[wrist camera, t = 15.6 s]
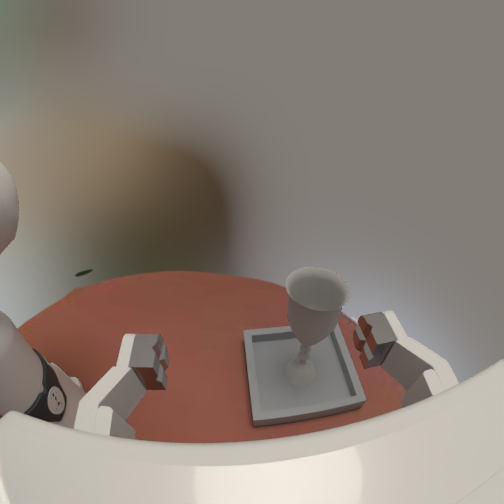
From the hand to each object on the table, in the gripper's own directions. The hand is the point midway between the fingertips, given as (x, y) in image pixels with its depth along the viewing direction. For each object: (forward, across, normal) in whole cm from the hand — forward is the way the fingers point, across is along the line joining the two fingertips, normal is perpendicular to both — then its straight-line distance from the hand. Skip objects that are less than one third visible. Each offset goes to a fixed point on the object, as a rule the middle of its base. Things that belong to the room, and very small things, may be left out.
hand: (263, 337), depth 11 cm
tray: (+14, -8, +30) cm, 34 cm away
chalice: (+14, -8, +29) cm, 33 cm away
